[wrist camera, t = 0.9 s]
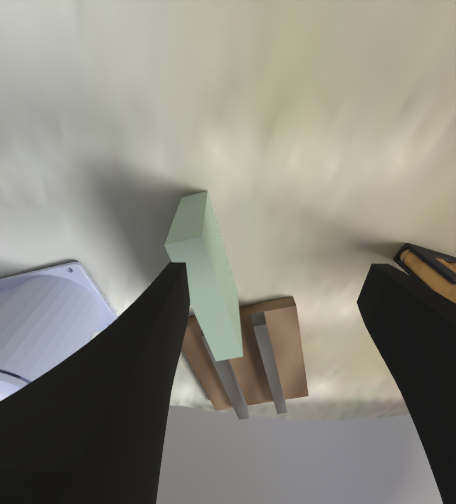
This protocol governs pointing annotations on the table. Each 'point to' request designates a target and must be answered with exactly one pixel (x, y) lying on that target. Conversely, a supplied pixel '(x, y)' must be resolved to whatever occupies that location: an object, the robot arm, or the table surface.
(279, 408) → the track base
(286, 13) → the table surface
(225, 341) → the grey-green rectangular block
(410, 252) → the ammunition clip
